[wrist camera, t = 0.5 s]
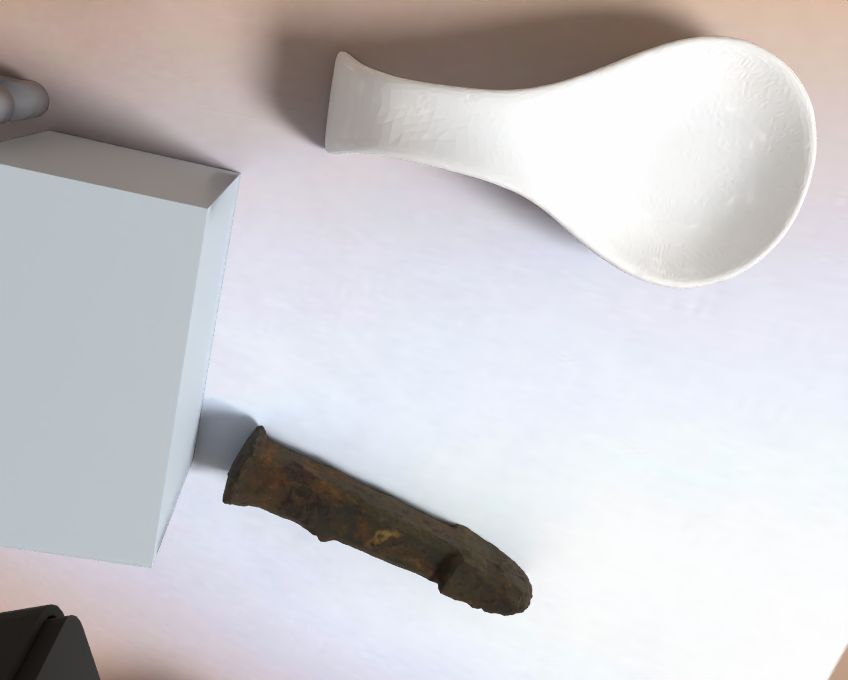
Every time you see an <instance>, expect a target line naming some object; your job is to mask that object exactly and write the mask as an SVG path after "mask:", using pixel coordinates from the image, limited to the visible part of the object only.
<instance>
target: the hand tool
mask: <svg viewBox="0 0 848 680" xmlns="http://www.w3.org/2000/svg"><path fill="white" fill-rule="evenodd" d="M223 502H224V503H225V504H230V505H231V504H234V505H237V506H248V505H249V506H254V507H259V508H262V509H264V510H266V511H268V512H270V513H273V514H275V515H278V516H280V517H282V518H285V519H288V520H291V521H293V522H295V523H297V524H299V525H300V526H302V527H303V528H305V529H306V530H308V531H309V532H310V533H311V534H313V535H316V536H317V537H318V539H319V540H320V541H321V542H326V541H331V540H336V541H339V542H341V543H343V544H345V545H349V546H351V547H353V548H355V549H358V550H360V551H363V552H365V553H367V554H369V555H371V556H374V557H376V558H379V559H381V560H384V561H386V562H388V563H390V564H393V565H395V566H398V567H400V568H403V569H406V570H409V571H411V572H414V573H416V574H418V575H420V576H422V577H424V578H426V579H428V580H429V581H433V582H435V583H437V584H438V589H439V591H440V593H441V594H443V595H445V596H448V597H450V598H452V599H454V600H458V601H463V602H465V603H468V604H469V605H470V606H471V607H472V608H476V609H480V608H482V609H483V611H485V612H488V613H497V614H501V615H504V616H507V615H514V614H516V613H522V612H524V610H525V609H527V608H528V606H529V605H530V600H531V598H532V585H531V584H530V582H529V579H528V577H527V575H526V574H525V573H524V571H523V570H522V569H521V568H520V567H519V566H518V565H517V564H516V563H515V562H514V561H513V560H512V559H510V558H509V557H508V556H507V555H506V554H504V553H503V552H502V551H500V550H499V549H498V548H497V547H496V546H494V545H493V544H489V543H488V542H487V541H485V540H484V539H482V538H481V537H480V536H478V535H477V534H475V533H474V532H472V531H471V530H470V529H468V528H466V527H464V526H461V525H457V524H456V525H454V526H452V527H450V526H448V525H446V524H444V523H442V522H439V521H437V520H435V519H433V518H431V517H429V516H427V515H426V514H424V513H422V512H420V511H418V510H416V509H413V508H411V507H409V506H407V505H405V504H404V503H402V502H401V501H399V500H397V499H395V498H393V497H391V496H389V495H385V494H382V493H380V492H378V491H376V490H374V489H372V488H370V487H368V486H365V485H363V484H361V483H359V482H358V481H356V480H354V479H352V478H350V477H348V476H347V475H344V474H342V473H340V472H338V471H337V470H335V469H333V468H332V467H330V466H325V465H322V464H320V463H317V462H315V461H313V460H310V459H308V458H306V457H304V456H302V455H299V454H297V453H295V452H292V451H290V450H288V449H286V448H284V447H282V446H280V445H278V444H277V443H275V442H274V441H272V440H271V439H270V438H269V437H268V436H267V434H266V431H265V429H264V427H263V426H262V425H261V426H259V427H256V429H255V430H254V432H253V433H252V434H251V436H250V437H249V438H248V440H247V441H246V443H245V444H244V446H243V448H242V449H241V450H240V452H239V454H238V455H237V457H236V459H235V461H234V462H233V464H232V466H231V468H230V470H229V472H228V478H227V482H226V486H225V491H224V494H223Z"/></svg>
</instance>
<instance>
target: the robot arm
mask: <svg viewBox="0 0 848 680" xmlns="http://www.w3.org/2000/svg"><path fill="white" fill-rule="evenodd" d="M0 680H100V677H99V674H98V671H97V668H96V665H95V662H94V659H93V656H92V653H91V650H90V647H89V644H88V641H87V638H86V635H85V632H84V629H83V626H82V624H81V622H80V620H79V619H78V618H77V617H76V616H73V615H70V616H64V614H63V612H62V611H61V610H60V608H59V607H58V606H56V605H52V604H51V605H45V606H39V607H32V608H26V609H20V610H14V611H8V612H2V613H0Z"/></svg>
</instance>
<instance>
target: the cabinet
mask: <svg viewBox="0 0 848 680" xmlns="http://www.w3.org/2000/svg"><path fill="white" fill-rule="evenodd" d="M48 106H49V97H48V94H47V92H46V90H45V89H44V88H43V87H42V86H41V85H40V84H39V83H37V82H35V81H31V80H21V79H16V78H12V77H8V76H4V75H0V124H1V123H4V122H6V121H17V120H23V119H28V118H34V117H38V116H41V115H43V114H44V113H45V112H46V111H47V109H48ZM240 174H241V173H237V172H233V171H228V170H224V169H219V168H215V167H211V166H206V165H202V164H197V163H193V162H188V161H184V160H179V159H175V158H170V157H166V156H162V155H157V154H153V153H148V152H144V151H139V150H135V149H130V148H126V147H122V146H117V145H113V144H108V143H104V142H99V141H95V140H90V139H86V138H82V137H77V136H73V135H68V134H64V133H59V132H55V131H50V130H48V131H44V132H40V133H36V134H31V135H27V136H23V137H19V138H14V139H10V140H6V141H2V142H0V547H6V548H13V549H20V550H28V551H35V552H42V553H49V554H56V555H63V556H70V557H77V558H84V559H91V560H98V561H105V562H112V563H119V564H126V565H133V566H140V567H147V568H152V565H153V563H154V560H155V558H156V555H157V552H158V550H159V547H160V545H161V542H162V539H163V537H164V534H165V531H166V529H167V526H168V524H169V521H170V518H171V516H172V513H173V510H174V508H175V505H176V503H177V500H178V497H179V495H180V492H181V489H182V487H183V484H184V482H185V479H186V476H187V474H188V471H189V468H190V466H191V463H192V461H193V456H194V450H195V444H196V438H197V432H198V426H199V420H200V414H201V408H202V402H203V396H204V390H205V384H206V378H207V372H208V366H209V360H210V354H211V348H212V342H213V336H214V330H215V324H216V318H217V312H218V306H219V300H220V294H221V288H222V282H223V276H224V270H225V264H226V258H227V252H228V246H229V240H230V234H231V228H232V222H233V216H234V210H235V204H236V198H237V192H238V186H239V180H240Z"/></svg>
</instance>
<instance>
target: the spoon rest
mask: <svg viewBox="0 0 848 680" xmlns="http://www.w3.org/2000/svg"><path fill="white" fill-rule="evenodd" d="M816 143H817V135H816V124H815V116H814V111H813V107H812V104H811V102H810V99H809V96H808V94H807V92H806V90H805V88H804V86H803V85H802V83H801V82H800V80H799V78H798V77H797V75H796V74H795V73H794V72H793V71H792V70H791V69H790V68H789V67H788V66H787V65H786V64H785V63H784V62H783V61H782V60H780V59H779V58H778V57H777V56H775V55H774V54H772V53H771V52H769V51H768V50H766V49H764V48H763V47H760V46H758V45H756V44H754V43H751V42H749V41H746V40H742V39H737V38H733V37H724V36H704V37H693V38H686V39H681V40H677V41H673V42H669V43H665V44H662V45H659V46H656V47H653V48H650V49H647V50H645V51H642V52H639V53H636V54H633V55H631V56H629V57H626V58H624V59H621V60H619V61H616V62H614V63H611V64H609V65H606V66H604V67H601V68H598V69H596V70H593V71H591V72H588V73H585V74H582V75H579V76H576V77H573V78H570V79H567V80H564V81H560V82H556V83H553V84H548V85H543V86H538V87H532V88H525V89H514V90H487V89H476V88H465V87H458V86H449V85H441V84H432V83H427V82H421V81H415V80H410V79H405V78H400V77H396V76H392V75H389V74H386V73H383V72H380V71H377V70H374V69H372V68H369V67H367V66H365V65H363V64H361V63H360V62H358V61H357V60H356V59H354V58H353V57H352V56H351V55H350V54H348V53H346V52H339V53H338V55H337V57H336V60H335V66H334V73H333V79H332V86H331V92H330V100H329V109H328V117H327V126H326V135H325V148H326V151H327V152H328V153H330V154H345V153H360V154H372V155H380V156H386V157H392V158H398V159H403V160H407V161H412V162H416V163H420V164H425V165H429V166H434V167H438V168H442V169H445V170H449V171H453V172H456V173H460V174H464V175H468V176H472V177H475V178H478V179H481V180H484V181H488V182H490V183H493V184H496V185H499V186H501V187H504V188H506V189H509V190H511V191H513V192H515V193H518V194H520V195H521V196H523V197H525V198H527V199H528V200H530V201H531V202H533V203H535V204H536V205H537V206H539V207H540V208H541V209H543V210H544V211H545V212H547V213H548V214H549V215H550V216H552V217H553V218H554V219H555V220H556V221H557V222H558V223H560V224H561V225H562V226H563V227H564V228H565V229H566V230H567V231H568V232H570V233H571V234H572V235H573V236H574V237H575V238H577V239H578V240H579V241H580V242H581V243H583V244H584V245H585V246H586V247H588V248H589V249H590V250H591V251H593V252H594V253H595V254H597V255H598V256H600V257H601V258H602V259H604V260H605V261H607V262H608V263H610V264H612V265H613V266H615V267H616V268H618V269H620V270H621V271H623V272H625V273H627V274H629V275H631V276H633V277H636V278H638V279H640V280H643V281H646V282H649V283H652V284H656V285H660V286H666V287H673V288H694V287H702V286H707V285H711V284H715V283H719V282H722V281H725V280H727V279H730V278H732V277H734V276H737V275H739V274H740V273H742V272H743V271H745V270H747V269H748V268H750V267H751V266H753V265H754V264H756V263H757V262H759V261H760V260H761V259H762V258H763V257H764V256H765V255H767V254H768V253H769V252H770V251H771V250H772V249H773V248H774V247H775V246H776V245H777V243H778V242H779V241H780V240H781V239H782V237H783V236H784V235H785V233H786V232H787V231H788V229H789V228H790V226H791V225H792V223H793V221H794V220H795V218H796V216H797V214H798V212H799V210H800V208H801V206H802V203H803V201H804V198H805V195H806V193H807V190H808V187H809V184H810V181H811V177H812V173H813V169H814V164H815V158H816Z"/></svg>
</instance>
